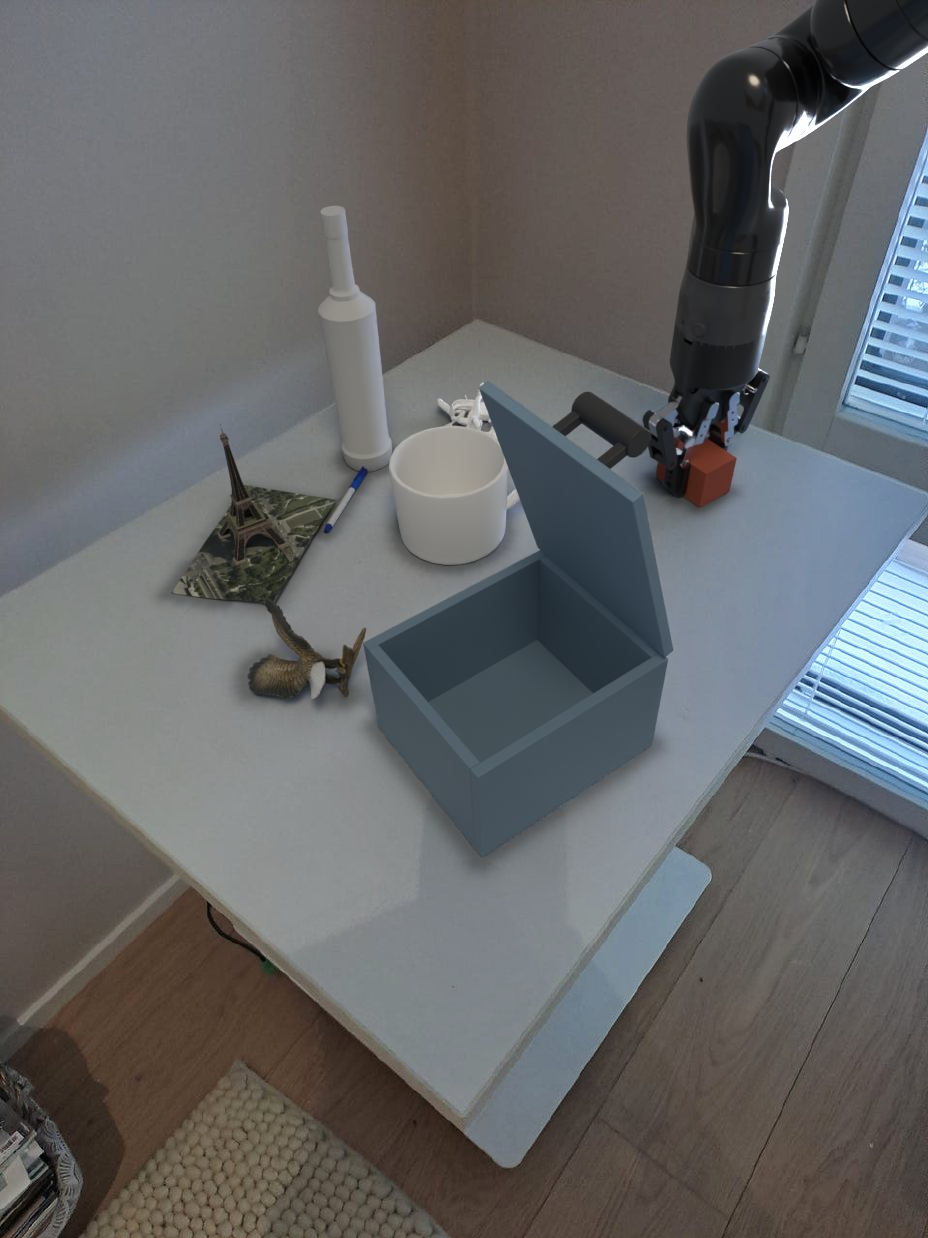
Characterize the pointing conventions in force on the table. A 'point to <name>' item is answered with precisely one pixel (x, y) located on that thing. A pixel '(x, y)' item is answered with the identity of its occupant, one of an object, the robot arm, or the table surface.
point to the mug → (450, 494)
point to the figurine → (475, 412)
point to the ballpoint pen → (346, 498)
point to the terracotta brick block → (706, 472)
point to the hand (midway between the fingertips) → (692, 481)
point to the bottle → (353, 354)
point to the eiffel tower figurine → (253, 542)
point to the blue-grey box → (514, 697)
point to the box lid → (586, 505)
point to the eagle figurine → (299, 664)
